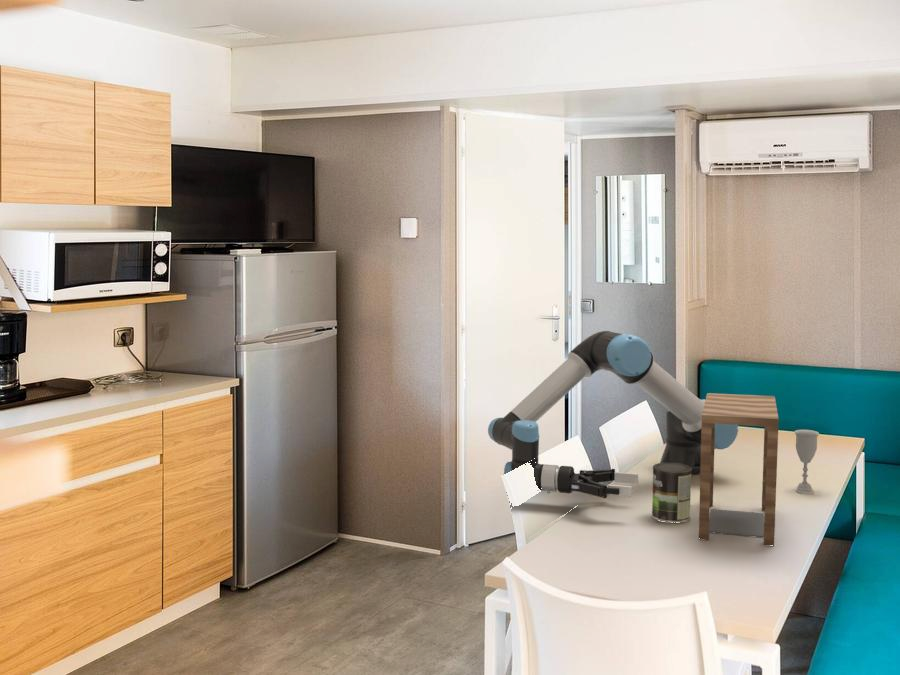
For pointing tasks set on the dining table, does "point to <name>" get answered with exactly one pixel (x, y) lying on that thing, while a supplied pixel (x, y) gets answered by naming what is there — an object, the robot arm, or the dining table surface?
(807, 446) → the chalice
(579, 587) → the dining table surface
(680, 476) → the coffee can
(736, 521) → the mat
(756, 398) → the wooden stool
